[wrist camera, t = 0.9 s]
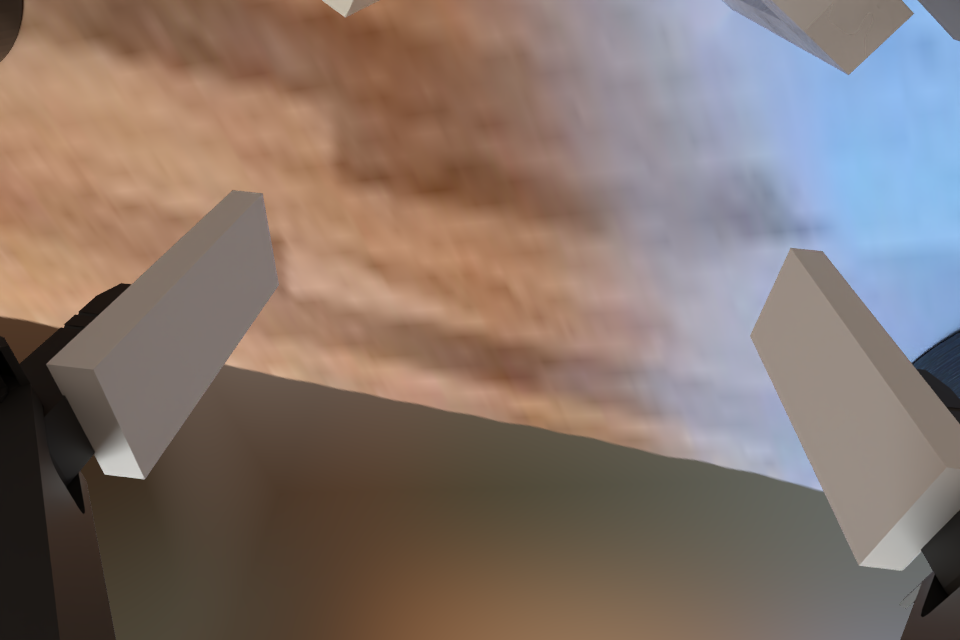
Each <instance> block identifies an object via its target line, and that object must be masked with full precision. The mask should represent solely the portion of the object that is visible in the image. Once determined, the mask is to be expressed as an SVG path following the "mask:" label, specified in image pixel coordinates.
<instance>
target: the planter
mask: <svg viewBox="0 0 960 640" xmlns="http://www.w3.org/2000/svg"><path fill="white" fill-rule="evenodd" d="M913 366H914V367H915V368H916V369H923V370H927V371H928V372H929V373H931V374H932V375H933V376H935V377H936V378H937V379H939V380H940V381H941V382H943V383H944V384H945V385H947V386H948V387H949V388H951V389H952V391H953V392H954V393H955V394H956V395H957V397H958V398H959V399H960V332H959V333H957V334H956V335H954V336H952V337H951V338H949V339H947V340H945V341H944V342H942V343H941V344H939V345H938V346H936V347H935V348H933V349H932V350H930V351H929V352H928V353H926V354H925V355H924V356H922V357H921V358H920V359H919V360H917V361H916V362H915V363H914V364H913ZM930 567H931V566H930ZM931 569H932V568H931ZM932 571H933V570H932Z"/></svg>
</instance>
